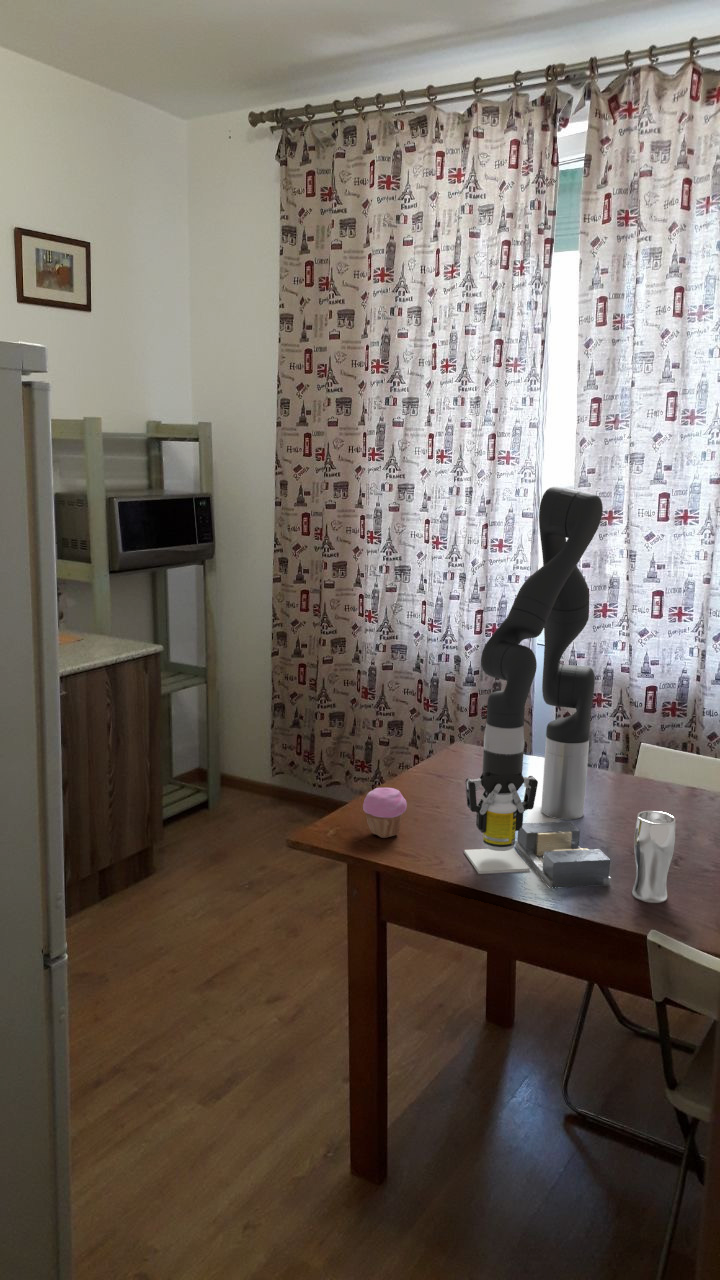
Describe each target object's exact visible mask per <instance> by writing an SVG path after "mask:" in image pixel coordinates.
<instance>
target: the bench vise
mask: <svg viewBox="0 0 720 1280" xmlns="http://www.w3.org/2000/svg"><path fill="white" fill-rule="evenodd" d="M580 834H581V830H580V829H579V828H578V827H577V826H576V825H575V824H574V823H573V822H572V821H571V820H569V821H568V820H567V821H564V820H563V821H548V822H547V821H546V822H545V821H544V822H540V821H539V822H523V826H522V828H520V830H519V831H517V839H515V845H514V847H515V849H516V850H517V851H518V852H519V853H520V854H521V856H522V857H523V858H524V860H526V863H528V864H529V865H530V867H531V868H532V869H533V870H534V871H535V873H536V874H537V875H538V876H539V877H540V879H541V878H542V879H543V880H542V879H541V880H542V881H543V882H544V883H545V885H546V884H547V885H548V886H549V887H550V888H549V887H548V886H547V885H546V886H547V887H548V888H549V889H559V888H558V887H565V888H577V887H576V886H578V888H580V886H582V887H597V886H611V880H612V877H611V876H610V868H611V859H610V858H609V857H608V856H607V855H606V854H605V853H604V852H603V851H602V850H601V849H600V848H590V849H589V848H587V847H586V848H582V847H581V846H580V837H581V835H580ZM538 857H542V860H540V859H539V858H538ZM552 887H553V888H552ZM555 887H556V888H555ZM582 887H581V888H582Z"/></svg>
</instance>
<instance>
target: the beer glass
mask: <svg viewBox="0 0 720 1280" xmlns="http://www.w3.org/2000/svg"><path fill="white" fill-rule="evenodd" d="M676 819H677V818H676V817H675V816H673V815H671V814H669V813H667V812H663V811H660V810H659V811H657V810H642V811H640V812H638V813H637V818H636V823H635V829H634V836H633V837H634V838H633V846H634V847H633V851H634V852H633V853H634V860H635V880H634V884H633V887H632V896H633V897H634V898H635V899H637V900H639V901H642V902H645V903H650V904H660V903H664V902H666V901H667V899H668V888H667V878H668V877H667V876H668V874H669V870H670V869H669V868H670V866H671V862H672V860H673V859H672V858H673V856H674V855H673V854H674V851H675V844H676V821H677V820H676Z"/></svg>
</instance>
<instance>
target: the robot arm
mask: <svg viewBox="0 0 720 1280" xmlns="http://www.w3.org/2000/svg"><path fill="white" fill-rule="evenodd" d="M603 508H604V507H603V501H602V499H601V497H600V496H599V495H597V494H595V493H592V492H588V491H584V490H583V491H582V490H578V489H574V488H569V487H564V486H551V487H549V488H547V489H546V490H545V491H544V493H543V495H542V497H541V500H540V504H539V510H538V525H539V536H540V545H541V552H542V563H543V564H542V566H541V567H540V568H539V569H538V570H536V571H535V572H534V573H532V574H531V575H530V576H529V577H528V578H527V579H526V580H525V581H524V583H523V584H522V585H521V587H520V588H519V590H518V592H517V594H516V597H515V599H514V601H513V602H512V603H513V604H512V606H511V608H510V610H509V613H508V615H507V617H506V618H505V619H504V621H503V622H502V623H501V624H500V625H499V626H498V628H497V629H496V630H495V632H494V633H493V634H492V635H491V636H490V637H489V639H488V640H487V642H486V643H485V645H484V647H483V648H482V651H481V657H480V664H481V665H480V666H481V669H482V671H483V672H484V673H485V674H486V675H487V676H488V677H490V678H495V679H499V680H503V681H506V686H505V688H504V690H496V691H493V692H491V693H490V694H489V696H488V698H487V704H486V721H485V728H484V733H483V735H484V736H483V751H482V752H483V753H482V754H483V756H482V773H481V775H480V777H479V778H473V779H471V778H470V777H467V778H466V779H465V782H464V783H465V793H466V794H465V795H466V806H467V808H469V809H470V811H471V812H472V813H476V818H475V819H476V822H475V825H476V828H477V829H478V830H479V832H480V833H482V834H483V833H485V832H486V816H487V815H486V814H485V813H486V811H487V809H488V807H489V806H490V805H491V804H492V802H493V801H494V799H495V797H496V795H497V793H511V794H512V797H513V800H512V801H513V802H514V803H515V805H516V807H517V813H516V830H515V832H518V831H519V830H520V828H522V826H523V823H524V813H525V812H526V811H528V810H533V809H534V807H535V806H534V805H535V800H536V795H537V791H538V789H537V788H538V784H539V783H538V780H537V779H536V778H535V777H534V776H533V775H529V776H528V777H527V776H523V769H524V767H523V766H524V765H523V764H524V752H525V750H524V749H525V745H526V744H525V729H524V728H525V726H524V725H525V713H526V711H525V710H526V709H525V707H526V702H527V699H528V697H529V694H530V690H531V689H532V688H531V687H532V684H533V682H534V678H535V676H536V673H537V668H538V667H537V666H538V663H537V659H536V655H535V652H534V651H533V649H531V648H530V647H528V646H525V645H522V644H520V643H522V641H524V640H527V639H534V638H537V637H539V636H540V635H541V634H542V632H544V633H543V635H544V648H543V649H544V651H543V668H542V684H541V685H542V688H541V689H542V690H541V692H542V698H543V701H544V703H545V704H547V705H549V706H552V707H553V706H554V707H558V708H559V707H560V708H567V709H576V710H575V712H574V713H572V714H570V715H569V716H566V717H562V718H558V719H553V720H552V721H550V722H548V724H547V726H546V731H545V745H544V746H545V748H544V763H543V764H544V765H543V780H542V791H541V792H542V795H541V810H540V811H541V813H542V814H543V815H545V816H547V817H550V818H554V819H559V820H577V819H580V818H582V817H583V816H584V814H585V813H584V810H585V800H586V799H585V798H586V788H587V774H588V773H587V772H588V764H589V763H588V761H589V747H590V746H589V745H590V729H591V717H592V716H591V715H592V708H593V700H594V694H595V693H594V692H595V685H596V684H595V683H596V682H595V681H596V680H595V676H596V675H595V672H594V670H593V668H592V667H590V666H586V665H585V666H583V665H574V664H563V663H561V662H560V660H561V658H562V656H563V654H564V653H565V652H566V650H567V648H568V647H569V646H570V644H572V643H573V642H574V641H575V639H577V637H578V636H579V635H580V634H581V633H582V631H583V630H584V628H585V627H586V625H587V624H588V621H589V618H590V588H589V585H588V584H587V581H586V578H585V577H584V576H583V574H582V571H581V570H580V569H579V566H578V564H579V561H580V560H581V559H582V556H583V555H584V554H585V552H586V550H587V548H588V547H589V545H590V544H591V541H592V540H593V539H594V537H595V535H596V533H597V531H598V529H599V527H600V524H601V521H602V517H603V512H604V511H603V510H604V509H603ZM523 785H524V788H525V792H524V796H523V797H524V798H523V801H522V800H521V798H520V795H519V793H518V791H519V789H520V788H521V787H522V786H523ZM480 786H482V787H483V791H482V793H481V794H480V796H479V797H480V799H478V800H479V801H478V802H477V791H478V790H479V787H480Z"/></svg>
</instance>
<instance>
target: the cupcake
mask: <svg viewBox="0 0 720 1280" xmlns="http://www.w3.org/2000/svg"><path fill="white" fill-rule="evenodd" d="M407 806H408V805H407V800H406V799H405V797H404V796H403V794H402V793H401V791H400V790H399V789H396V788H393V787H376V788H374V789H372V790H371V791H369V792H368V793H367V794H366V796H365V798H364V801H363V804H362V809H363V812H364V813H365V816H366V822H367V825H368V827H369V830H370V832H371V833H372V835H376V836H378V837H380V838H382V839H386V838H391V837H394V836H397V835H398V834H399V833H400V830H401V829H400V828H401V827H400V826H401V820H402V815H403V814H404V813H405V812H406V811H407Z"/></svg>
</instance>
